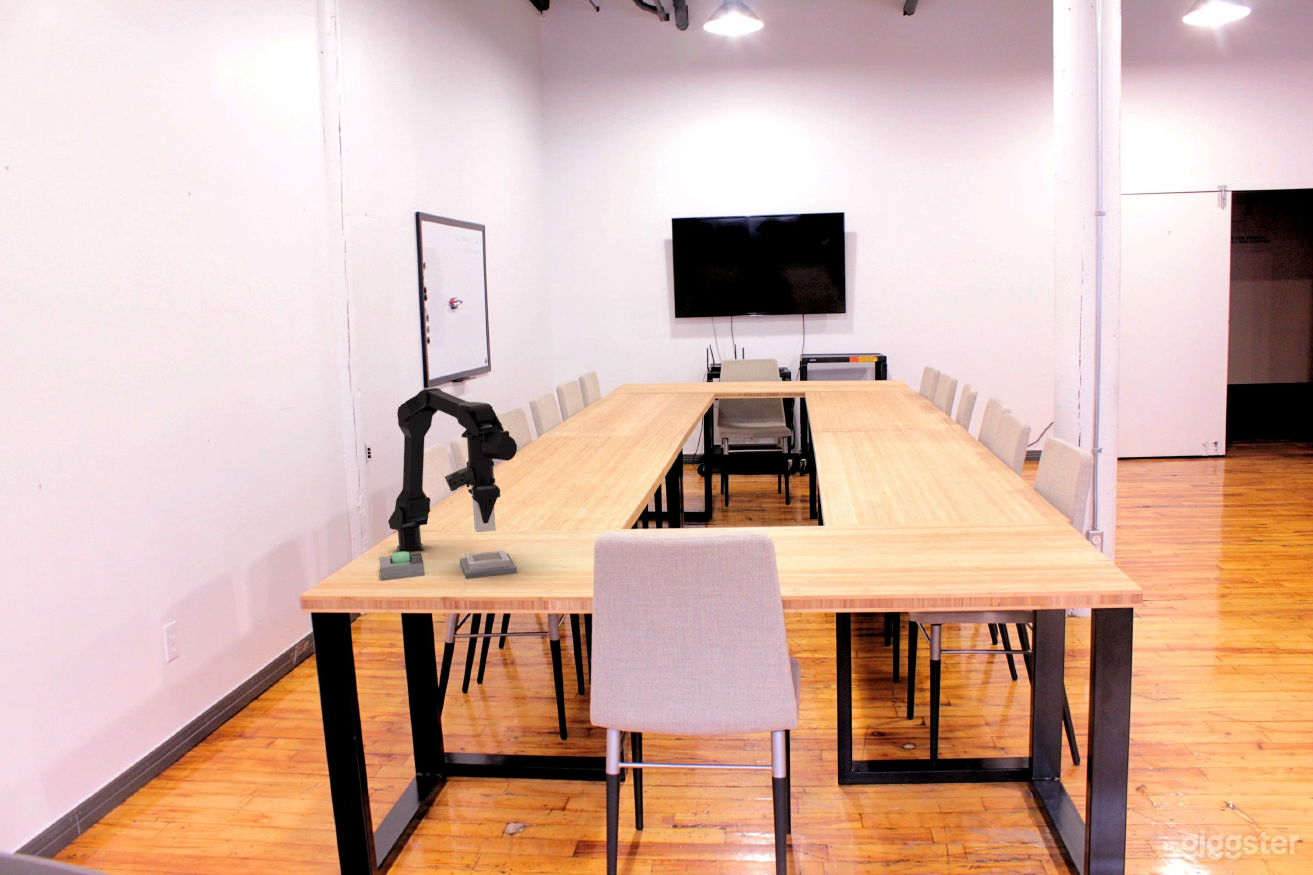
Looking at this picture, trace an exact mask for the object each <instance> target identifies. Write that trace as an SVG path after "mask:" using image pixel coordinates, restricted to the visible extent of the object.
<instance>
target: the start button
mask: <svg viewBox="0 0 1313 875" xmlns="http://www.w3.org/2000/svg"><path fill="white" fill-rule="evenodd" d="M409 554H410V552H398V551H397V552H393V553H392V554H391V556H392V561H393V563H402V562H410V558H409Z"/></svg>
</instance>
